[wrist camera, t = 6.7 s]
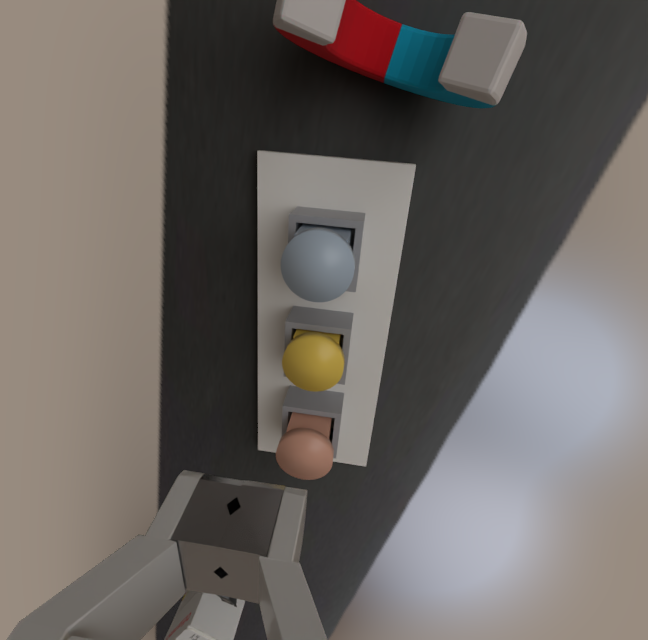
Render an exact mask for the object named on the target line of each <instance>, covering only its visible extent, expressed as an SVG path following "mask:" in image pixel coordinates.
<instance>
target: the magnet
mask: <svg viewBox="0 0 648 640" xmlns="http://www.w3.org/2000/svg"><path fill="white" fill-rule="evenodd" d="M273 25H274V26H275V28H276V29H277V30H278V31H279V32H280V33H281V34H282V35H283V36H284V37H286V38H287V39H289V40H290V41H292V42H293V43H295V44H296V45H298V46H300V47H302V48H304V49H306V50H307V51H309V52H311V53H313V54H315V55H317V56H319V57H322V58H324V59H326V60H328V61H330V62H332V63H335V64H337V65H339V66H342V67H344V68H346V69H349V70H351V71H354V72H356V73H359V74H361V75H364V76H366V77H369V78H371V79H374V80H377V81H380V82H382V83H385V84H388V85H391V86H394V87H397V88H399V89H402V90H405V91H409V92H412V93H415V94H418V95H421V96H425V97H428V98H432V99H436V100H439V101H443V102H447V103H451V104H456V105H461V106H466V107H473V108H491V107H494V106H495V105H497V104H498V103H499V101H500V99H501V97H502V95H503V93H504V91H505V88H506V86H507V84H508V82H509V80H510V77H511V75H512V73H513V71H514V69H515V67H516V64H517V62H518V60H519V58H520V56H521V54H522V51H523V49H524V47H525V43H526V37H527V31H526V29H525V26H524V23H523V22H522V21H521V20H516V19H509V18H503V17H497V16H490V15H484V14H478V13H471V12H467V13H464V14H463V16H462V18H461V21H460V23H459V26H458V28H457V31H456V34H455V35H447V34H438V33H432V32H427V31H423V30H420V29H416V28H413V27H409V26H406V25H403V24H401V23H398V22H396V21H393V20H391V19H388V18H386V17H384V16H382V15H380V14H378V13H376V12H374V11H372V10H370V9H369V8H367V7H365V6H364V5H362V4H361V3H359V2H358V1H356V0H277V2H276V7H275V12H274V17H273Z"/></svg>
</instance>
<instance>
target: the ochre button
mask: <svg viewBox="0 0 648 640" xmlns="http://www.w3.org/2000/svg"><path fill="white" fill-rule="evenodd" d="M340 343H341V334H334V333H326V332H318V331H310V330H302V329H296V332H295V334H294V336H293V339H292V340H291V341H290V342H289V344H288V345H287V348H286V350H285V352H284V355H283V358H282V367H283V371H284V373H285V375H286V377H287V378H288V379H289V380H290V381H291V382H292V383H293V384H294V385H295V386H297V387H299V388H301V389H303V390H307V391H313V392H319V391H324V390H327V389H330V388H332V387H333V386H335V385H336V384H337V383H338V382H339V380H340V379H341V377H342V374H343V370H344V363H345V358H344V353H343V351H342V349H341V347H340Z"/></svg>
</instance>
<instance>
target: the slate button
mask: <svg viewBox="0 0 648 640" xmlns="http://www.w3.org/2000/svg"><path fill="white" fill-rule="evenodd" d="M351 233H352V228H346V227H336V226H327V225H317V224H307V223H303V224H302V226H301V227H300V228H299V229H298V231H297V232H296V233H295V234H294V238H293V239H292V240H291V241H290V242H289V243H288V245H287V246H286V248H285V249H284V251H283V254H282V258H281V272H282V276H283V279H284V281H285V283H286V284H287V286H288V287H289V289H290V290H291V291H292V292H293V293H295V294H296V295H297V296H299V297H300V298H302V299H305V300H307V301H311V302H328V301H331V300H334V299H336V298H338V297H339V296H341V295H342V294H343V293H344V292H345V291H346V290H347V289H348V287H349V286H350V284H351V282H352V279H353V276H354V270H355V257H354V253H353V250H352V248H351V246H350V242H351Z"/></svg>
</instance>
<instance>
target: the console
mask: <svg viewBox="0 0 648 640" xmlns="http://www.w3.org/2000/svg"><path fill="white" fill-rule="evenodd" d="M415 168H416V164H412V163H401V162H389V161H378V160H367V159H355V158H344V157H333V156H321V155H310V154H299V153H288V152H276V151H265V150H259V151H257V193H258V450H262V451H269V452H275V453H276V451H277V447H278V444H279V441H280V439H281V437H282V436H283V435H284V434H285V433H286V431H287V427H288V424H289V421H290V418H291V415H292V412H296V413H303V414H309V415H316V416H323V417H330V418H332V423H331V432H330V442H331V443H332V445H333V448H334V456H333V461H334V462H340V463H347V464H353V465H360V466H366V464H367V458H368V452H369V446H370V440H371V434H372V428H373V422H374V416H375V410H376V404H377V398H378V391H379V385H380V379H381V373H382V367H383V361H384V355H385V349H386V343H387V337H388V331H389V325H390V319H391V313H392V307H393V301H394V295H395V289H396V283H397V277H398V271H399V265H400V259H401V253H402V247H403V241H404V235H405V229H406V223H407V217H408V211H409V205H410V199H411V193H412V186H413V180H414V174H415ZM303 223H307V224H317V225H327V226H336V227H346V228H352V233H351V242H350V246H351V248H352V250H353V253H354V257H355V270H354V276H353V279H352V282H351V284H350V286H349V287H348V289H347V290H346V291H345V292H344V293H343V294H342V295H341V296H339V297H338V298H336V299H334V300H331V301H328V302H311V301H307V300H305V299H302V298H300V297H299V296H297V295H296V294H295V293H293V292H292V291H291V290H290V289H289V287H288V286H287V284H286V283H285V281H284V279H283V276H282V272H281V258H282V254H283V251H284V249H285V248H286V246H287V245H288V243H289V242H290V241H291V240H292V239H293V238H294V234H295V233H296V232H297V231H298V229H299V228H300V227H301V226H302V224H303ZM296 329H302V330H310V331H318V332H326V333H334V334H341V343H340V347H341V349H342V351H343V353H344V358H345V363H344V370H343V374H342V377H341V379H340V380H339V382H338V383H337V384H336V385H335V386H333V387H332V388H330V389H327V390H324V391H319V392H313V391H307V390H303V389H301V388H299V387H297V386H295V385H294V384H293V383H292V382H291V381H290V380H289V379H288V378H287V377H286V375H285V373H284V371H283V367H282V358H283V355H284V352H285V350H286V348H287V345H288V344H289V342H290V341H291V340H292V339H293V336H294V334H295V332H296Z"/></svg>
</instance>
